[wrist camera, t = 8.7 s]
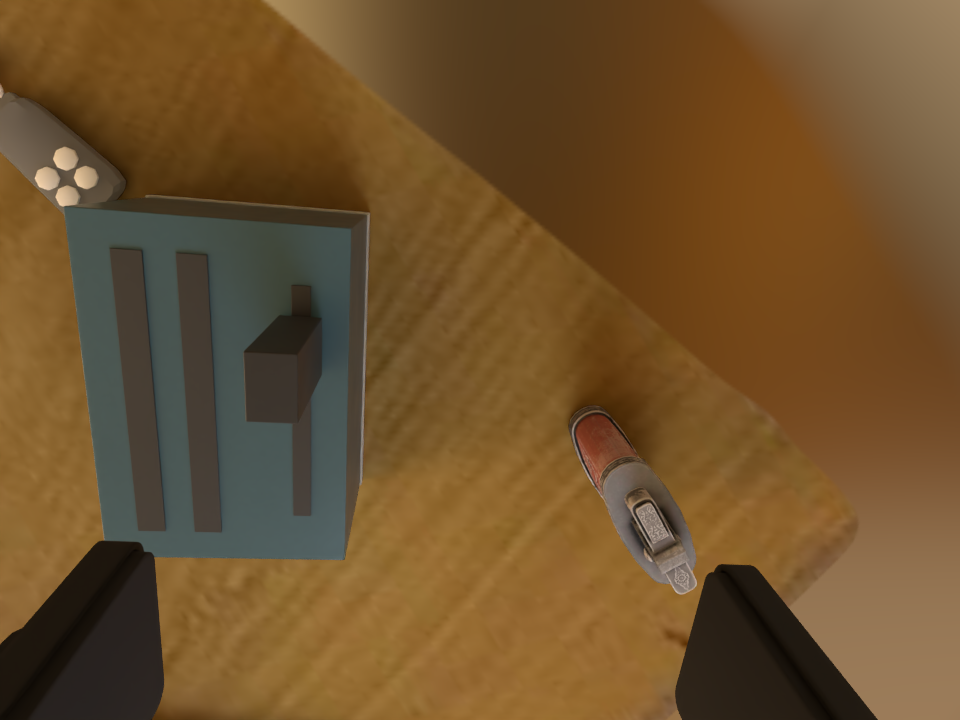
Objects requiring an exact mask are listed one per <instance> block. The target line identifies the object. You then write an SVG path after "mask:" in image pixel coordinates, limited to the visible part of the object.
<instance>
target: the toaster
mask: <svg viewBox="0 0 960 720" xmlns="http://www.w3.org/2000/svg"><path fill="white" fill-rule="evenodd" d="M64 215H65V223H66V231H67V239H68V248H69V256H70V264H71V272H72V280H73V288H74V296H75V305H76V313H77V321H78V329H79V337H80V345H81V354H82V362H83V370H84V378H85V386H86V394H87V403H88V411H89V419H90V427H91V435H92V443H93V452H94V460H95V468H96V476H97V484H98V492H99V501H100V509H101V517H102V525H103V533H104V541H128V542H139V543H141V544H142V546H143V548H144V552H152V553H153V555H154V557H190V558H254V559H319V560H344V559H345V555H346V550H347V545H348V540H349V535H350V530H351V525H352V520H353V515H354V510H355V505H356V500H357V495H358V490H359V485H361V484H362V478H363V444H364V409H365V375H366V341H367V307H368V273H369V239H370V212H361V211H349V210H336V209H324V208H312V207H299V206H287V205H275V204H263V203H250V202H238V201H226V200H213V199H201V198H189V197H176V196H164V195H152V194H150V195H146V197H144V198H135V199H126V200H116V201H107V202H97V203H88V204H78V205H69V206H64ZM279 315H284V316H300V317H317V318H322V376H321V378H320V380H319V382H318V384H317V386H316V388H315V390H314V392H313V394H312V396H311V398H310V400H309V402H308V404H307V406H306V408H305V410H304V412H303V414H302V416H301V418H300V420H299V423H298V424H288V423H263V422H246V416H245V388H244V361H243V352H244V350H245V349H246V348H247V347H248V346H249V345H250V344H251V343H252V342H253V341H254V340H255V339H256V338H257V337H258V336H259V335H260V334H261V333H262V332H263V331H264V330H265V329H266V328H267V327H268V326H269V325H270V324H271V323H272V322H273V321H274V320H275V319H276V318H277V317H278V316H279Z"/></svg>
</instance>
